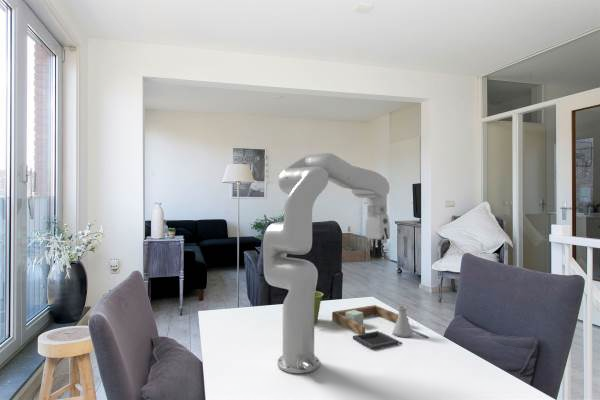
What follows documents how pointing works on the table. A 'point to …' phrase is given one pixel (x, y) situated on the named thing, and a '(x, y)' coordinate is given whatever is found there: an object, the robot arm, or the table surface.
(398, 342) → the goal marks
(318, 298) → the plant pot
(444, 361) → the table surface
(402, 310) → the flask
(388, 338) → the frame
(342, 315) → the wooden u-shaped frame
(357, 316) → the grey green block
